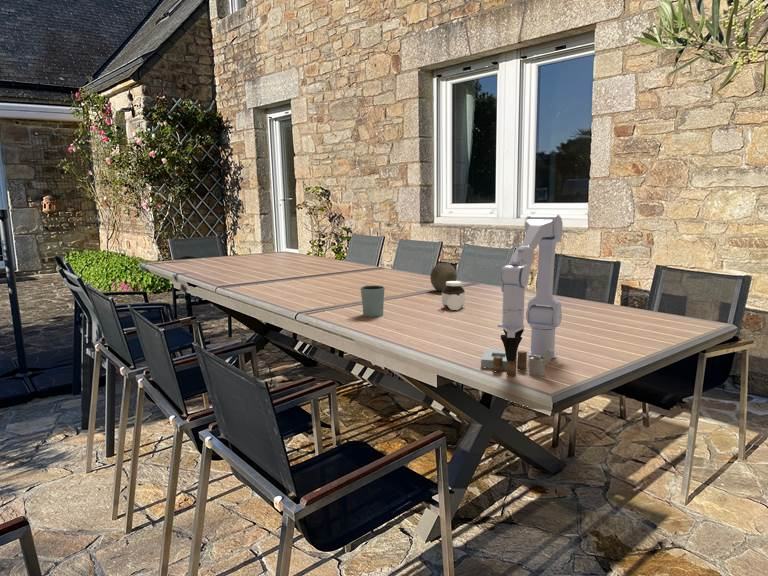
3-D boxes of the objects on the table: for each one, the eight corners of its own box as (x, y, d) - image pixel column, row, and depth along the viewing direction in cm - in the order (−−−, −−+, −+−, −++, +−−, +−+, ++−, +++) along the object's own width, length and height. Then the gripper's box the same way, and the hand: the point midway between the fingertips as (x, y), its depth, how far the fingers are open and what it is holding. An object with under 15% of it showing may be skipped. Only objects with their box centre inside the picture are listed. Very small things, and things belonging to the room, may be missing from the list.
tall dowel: (506, 373, 160) (507, 349, 159) (516, 374, 159) (517, 350, 158) (506, 376, 158) (506, 351, 156) (515, 377, 157) (516, 352, 156)
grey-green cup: (388, 313, 243) (388, 286, 242) (378, 318, 234) (378, 289, 232) (367, 311, 248) (367, 284, 246) (356, 316, 239) (356, 288, 237)
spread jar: (456, 305, 262) (456, 280, 260) (472, 308, 253) (473, 283, 251) (435, 308, 256) (436, 282, 254) (452, 312, 246) (452, 285, 244)
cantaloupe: (427, 292, 296) (427, 264, 294) (433, 288, 309) (433, 261, 307) (454, 294, 292) (454, 265, 289) (459, 289, 305) (459, 262, 303)
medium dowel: (517, 367, 166) (517, 350, 165) (526, 367, 165) (527, 351, 164) (516, 369, 163) (517, 352, 163) (526, 370, 163) (526, 353, 162)
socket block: (485, 356, 177) (485, 348, 177) (515, 358, 175) (515, 350, 174) (480, 367, 166) (481, 359, 165) (512, 370, 163) (512, 361, 163)
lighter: (528, 372, 161) (529, 345, 159) (532, 371, 162) (533, 344, 161) (550, 378, 155) (551, 350, 154) (554, 377, 157) (555, 349, 155)
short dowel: (493, 369, 164) (493, 356, 163) (502, 370, 163) (503, 356, 163) (492, 372, 162) (493, 358, 161) (501, 372, 161) (502, 359, 160)
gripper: (500, 303, 163) (499, 349, 166) (496, 313, 150) (494, 363, 152) (525, 304, 161) (524, 351, 164) (523, 314, 148) (521, 365, 150)
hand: (511, 357), depth 158 cm, fingers open, 7 cm apart
